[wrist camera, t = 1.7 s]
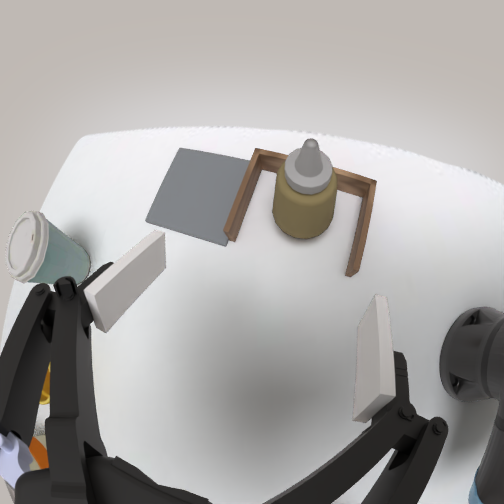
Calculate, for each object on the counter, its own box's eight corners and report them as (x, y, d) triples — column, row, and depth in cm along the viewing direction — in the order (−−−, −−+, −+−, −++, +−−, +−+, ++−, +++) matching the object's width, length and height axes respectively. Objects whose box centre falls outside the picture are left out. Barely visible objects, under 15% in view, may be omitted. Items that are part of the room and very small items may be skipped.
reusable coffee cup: (49, 419, 35) (-3, 432, 21) (84, 471, 32) (37, 496, 17) (30, 435, 34) (-16, 446, 20) (60, 481, 31) (19, 501, 17)
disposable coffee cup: (58, 296, 41) (-3, 283, 26) (61, 240, 43) (5, 214, 29) (99, 293, 40) (33, 278, 25) (101, 231, 43) (43, 197, 28)
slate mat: (257, 163, 42) (257, 162, 41) (226, 246, 39) (225, 245, 39) (180, 149, 44) (179, 147, 44) (146, 222, 42) (144, 220, 41)
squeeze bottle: (271, 195, 40) (259, 113, 23) (325, 191, 39) (345, 109, 22) (275, 249, 38) (267, 189, 21) (333, 244, 37) (368, 183, 20)
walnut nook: (368, 194, 38) (376, 180, 34) (350, 277, 36) (358, 271, 32) (258, 164, 42) (255, 147, 37) (229, 240, 39) (222, 230, 35)
